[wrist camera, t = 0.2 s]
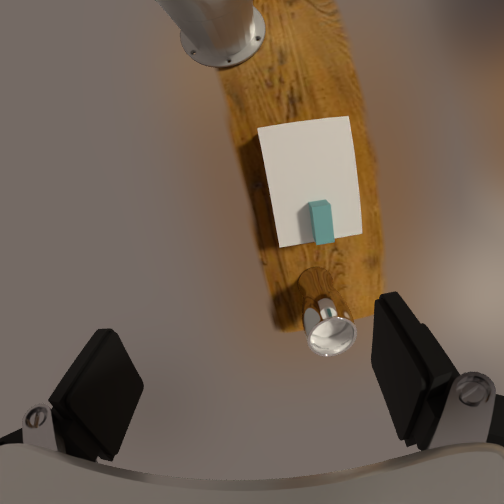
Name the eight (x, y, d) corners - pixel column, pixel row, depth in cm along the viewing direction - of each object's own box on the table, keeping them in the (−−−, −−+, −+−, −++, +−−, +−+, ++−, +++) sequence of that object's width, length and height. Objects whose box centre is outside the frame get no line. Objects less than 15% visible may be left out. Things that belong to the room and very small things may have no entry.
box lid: (257, 128, 35) (256, 127, 32) (347, 116, 33) (355, 114, 30) (279, 246, 41) (280, 256, 38) (361, 232, 40) (369, 241, 36)
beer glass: (299, 303, 51) (310, 362, 37) (291, 269, 48) (301, 323, 34) (337, 294, 50) (359, 350, 36) (331, 260, 47) (357, 310, 33)
